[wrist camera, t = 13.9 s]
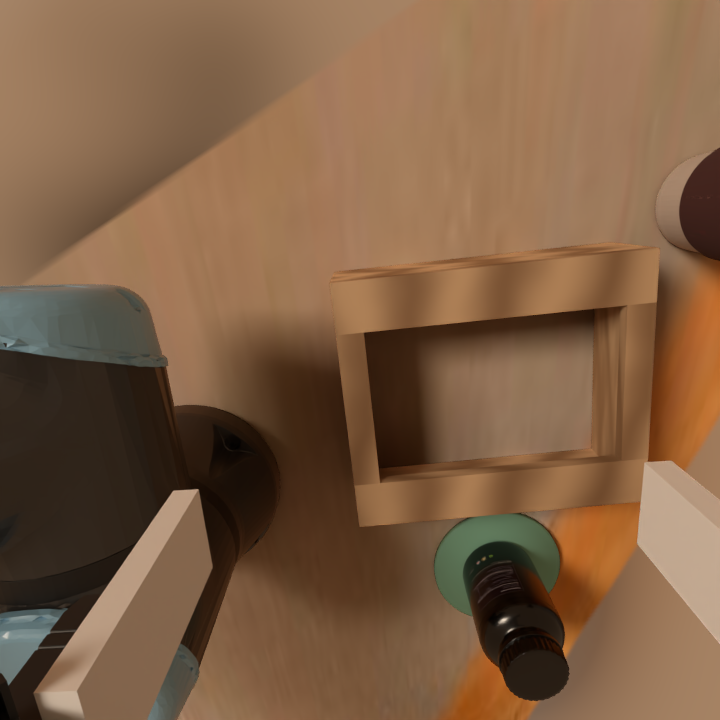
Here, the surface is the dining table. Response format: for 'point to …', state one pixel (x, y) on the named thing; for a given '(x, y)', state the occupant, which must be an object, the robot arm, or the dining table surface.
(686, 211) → the coffee cup
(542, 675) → the supplement bottle
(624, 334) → the cover box
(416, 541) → the dining table surface
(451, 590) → the mat
